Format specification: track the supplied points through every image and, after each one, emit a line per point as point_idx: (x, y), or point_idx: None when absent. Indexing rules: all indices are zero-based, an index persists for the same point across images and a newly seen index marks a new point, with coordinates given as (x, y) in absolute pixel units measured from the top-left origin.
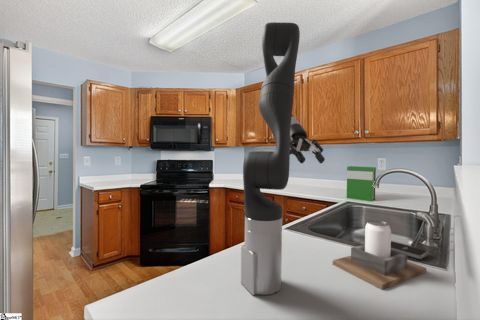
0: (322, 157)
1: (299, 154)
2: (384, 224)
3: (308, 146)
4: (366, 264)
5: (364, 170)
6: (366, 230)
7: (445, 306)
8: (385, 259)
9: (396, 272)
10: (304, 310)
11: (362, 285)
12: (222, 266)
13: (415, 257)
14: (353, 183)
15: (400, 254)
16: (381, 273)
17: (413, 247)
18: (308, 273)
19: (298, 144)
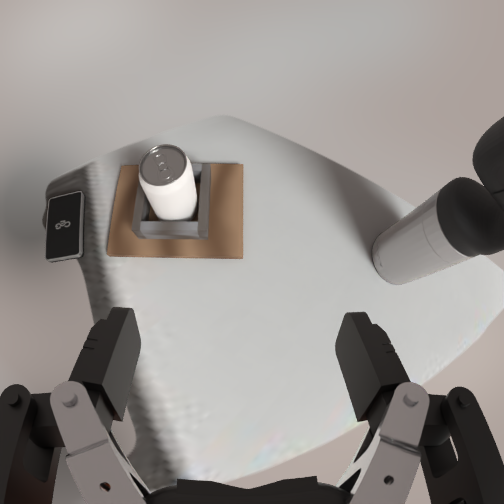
0: (121, 320)
1: (389, 365)
2: (158, 155)
3: (188, 494)
4: (209, 204)
5: None
6: (187, 185)
7: (208, 120)
8: (201, 166)
9: None
10: (371, 189)
11: (258, 186)
12: (425, 336)
13: (83, 200)
14: None
15: None
16: (211, 180)
17: (49, 219)
18: (312, 253)
19: (411, 462)
